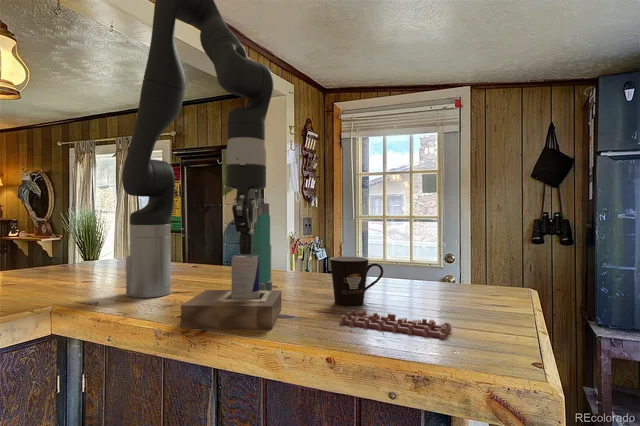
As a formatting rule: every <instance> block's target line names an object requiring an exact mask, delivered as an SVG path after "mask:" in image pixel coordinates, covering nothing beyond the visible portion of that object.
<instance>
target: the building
mask: <svg viewBox="0 0 640 426" xmlns="http://www.w3.org/2000/svg"><path fill="white" fill-rule="evenodd" d="M258 192H259V193H258V208H259V210H258V214H257V221H256V229H255V231H254V234H252V235H253V252H252V253H251V254H250V255H259V259H260V290H273V281H272V244H271V215H270V203H267V202H266V198H262V195H261V189H258Z"/></svg>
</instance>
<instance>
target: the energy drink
mask: <svg viewBox="0 0 640 426" xmlns="http://www.w3.org/2000/svg"><path fill="white" fill-rule="evenodd" d="M231 290H232V299H233V300H260V259H259V255H241V254H235V255H232V258H231Z"/></svg>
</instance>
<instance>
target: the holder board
mask: <svg viewBox="0 0 640 426" xmlns="http://www.w3.org/2000/svg"><path fill="white" fill-rule="evenodd" d="M281 311H282V290H280V289H278V290H276V289H275V290H273V289H272V290H260V300H233V299H232V289H205V290H202V292H200V293H198V294H197V295H195V296H194V297H192V298H191V299H189V300H187V301H186V302H184V303H182V304H181V305H180V329H211V330H212V329H214V330H215V329H216V330H217V329H218V330H219V329H222V330H230V329H231V330H273V328H274V325H275V324H276V322H277V320H278V318H279V315H280V313H281Z"/></svg>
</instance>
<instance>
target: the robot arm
mask: <svg viewBox="0 0 640 426" xmlns="http://www.w3.org/2000/svg"><path fill="white" fill-rule="evenodd" d="M153 9H154V10H153V19H152V29H151V39H150V44H149V50H148V56H147V61H146V67H145V71H144V75H143V79H142V85H141V90H140V96H139V103H138V108H137V114H136V119H135V123H134V129H133V132H132V135H131V140H130V144H129V147H128V151H127V152H126V157H125V161H124V165H123V169H122V173H121V183H122V187H123V190H124V192H125V194H127V195H129V196H132V197H143V198H144V197H146V198H148V202H147V204H146V205H145V206H143V207H142V208H141V209H138V210H134V211H133V212H132V213H130V217H129V255H127V256H126V258H125V275H126V276H125V284H126V285H125V289H126V290H125V296H126V297H132V298H141V299H142V298H143V299H145V298H146V299H147V298H156V297H157V298H158V297H163V296H168V295H169V294H171V268H172V267H171V264H172V263H171V255H172V254H171V249H172V248H171V241H172V240H171V232H172V231H171V228H172V227H171V226H172V225H171V223H172V221H171V220H172V219H171V218H172V215H173V212H174V203H175V201H174V200H175V183H176V181H175V179H176V177H175V172H174V169H173V167H172V165H171V164H170V163H169V162H168V161H165V160H162V159H161V160H159V159H152V154H153V152H154V148H155V145H156V144H157V141H158V139H159V138H160V137H161V135H162V133H164V131H166V129H167V128H169V126H170V125H171V124H172V123H173V122H174V121H175V119H176V118H177V117H178V116H179V114H180V112H181V109H182V107H183V102H184V97H185V94H186V93H185V91H186V85H187V81H186V74H185V71H184V68H183V65H182V61H181V58H180V56H179V53H178V49H177V44H176V40H175V38H176V37H175V29H176V20H178V21H180V22H182V23H184V24H186V25H191V26H193V27H195V28H196V29H198V30H199V31H200V34H199V41H200V45H201V47H202V50H203V51H204V53H205V54H206V56H207V57H208V58H209V60H210V62H211V63H212V65H213V66H214V70H215V74H216V79H217V83H218V84H219V86H220V87H221V88H222V89H223V90H224V91H225V92H227V93H228V94H232V95H235V96H238V97H241V98H244V99H245V98H246V103H245V106H243V107H235V108H232V109H231V110H230V111H229V112H228V115H227V145H226V158H225V161H226V167H225V169H226V170H225V171H226V181H225V182H226V183H225V185H226V188H227V189H231V190H236V195H235V198H233V205H232V207H231V209H232V215H233V219H234V226H235V232H236V233H238V236H239V255H250V254H251V253H252V252H253V235H252V234H254V231H255V229H256V221H257V214H258V210H259V207H258V206H259V205H258V204H259V203H258V201H259V198H256V190H259V189H260V190H265V189H266V187H267V151H266V143H265V142H266V118H267V113H268V110H269V106H270V103H271V99H272V96H273V92H274V85H275V83H274V76H273V74H272V72H271V69H270V68H269V67H268V66H267V65H265V64H264V63H261V62H259V61H254V60H253V59H249V58H248V57H247V51H246V49H245V47H244V45H243V43H242V42H241V41H240V40H239V38H238V37H237V36H236V35H235V34H234V32H233V31H232V30H231V29H230V28H229V26H228V24H227V23H226V22H225V20H224V18H223V17H222V14H221V13H220V10H219V8H218V6H217V5H216V2H215V0H154V8H153Z"/></svg>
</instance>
